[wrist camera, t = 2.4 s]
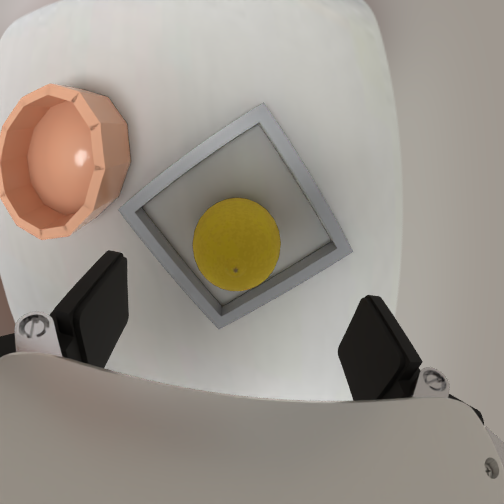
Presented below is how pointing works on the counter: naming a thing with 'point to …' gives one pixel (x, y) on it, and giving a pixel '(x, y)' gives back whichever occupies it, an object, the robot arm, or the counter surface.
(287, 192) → the counter surface
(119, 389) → the robot arm
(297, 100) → the counter surface
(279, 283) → the gray square frame
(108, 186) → the bowl
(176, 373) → the counter surface
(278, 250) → the lemon
